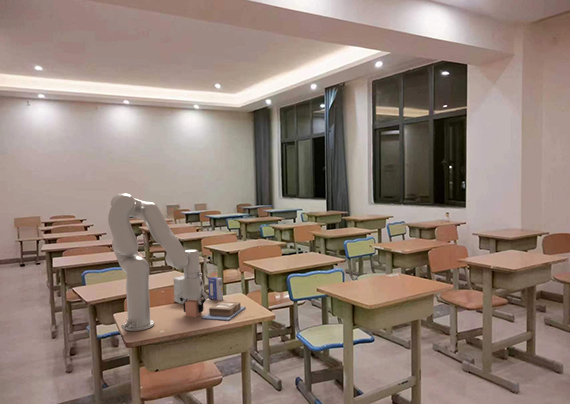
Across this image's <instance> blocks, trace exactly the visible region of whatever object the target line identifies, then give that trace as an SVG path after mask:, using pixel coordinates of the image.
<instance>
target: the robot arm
mask: <svg viewBox="0 0 570 404" xmlns="http://www.w3.org/2000/svg"><path fill="white" fill-rule="evenodd" d="M110 205H111V207H110V208H109V211H108V214H107V215H108V217H107V222H108V226H109V229H110V232H111V234H112V237H113V239H112V242H111V243H112V244H111V246H112V250H113V252H114V254H115V257H116V260H117V262H118V264H119V267H120V269H121V270H122V272H123V273H125V275H126V280H125V281H126V282H125V286H126V287H125V288H126V289H125V290H126V310H127V319H126V321H125V323H123V324H122V325H121V326H120V328H121V329H122V330H125V331H130V332H138V331H144V330H147V329H150V328H152V327H153V326H154V325H155V321H154V320H153V319H151V306H150V305H151V303H150V301H151V300H150V287H149V285H150V284H149V283H150V282H149V279H150V277H149V276H150V265H149V263H148V261H147V259H146V258H144V257H143V256H141V255H139V252H138V251H139V250H138V249H139V241H138V239H137V236H136V234H135V232H134V230H133V227H132V224H131V220H130V217H132V218H135V219H138V220H143V223H144V224H145V226H146V227H147V230H148V231H149V233H150V235H151V237H152V238H153V240H155V242H156V243H157V244H159V245H160V246H161V247H162V248H163V250H164V251H165V252H166V255H165V259H164V260H165V262H166V264H167V265H168V266H170V267H172V268H175V269H176V270H182V269H183V276H184V278H183V282H182V291H181V292H180V293H179V294H178V295H177V296H178V297H179V298H180V300H181V301H182V303H183V304H182V306H183V307H182V308H183V312H184V313H186V312H185V302H186V301H188V299H196V300H198V302H199V305H198V307H199V313H203V311H204V304H205V302H206V301H207V300H208V299H209V294H207V293H206V292H205V287H204V282H203V279H202V276H203V273H202V272H201V269H200V268H201V267H200V252H199V250H198V249H184V247H183V245H182V243H181V242H180V240H179V239H178V238H177V237H176V235H175V233H174V231H172V230H171V228H170V226H169V224H168V222H167V220H166V219H165V217H164V215H163V213H162V211H161V209H160V207H159V206H158V204H156V203H154V202H152V201H144V200H140V199H137V198H134V196H133V195H131V194H129V193H118V194H115V195H114V196H113V197H112V198H111V200H110Z"/></svg>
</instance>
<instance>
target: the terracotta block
mask: <svg viewBox="0 0 570 404" xmlns="http://www.w3.org/2000/svg"><path fill="white" fill-rule="evenodd" d="M198 305H199V302H198V300H196V299H190V300H188V301H186V302H185V312H184V313H185V317H191V318H196V317H198V316H199V315H200V316H201V314H203V312H201V313H199V307H198Z"/></svg>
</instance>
